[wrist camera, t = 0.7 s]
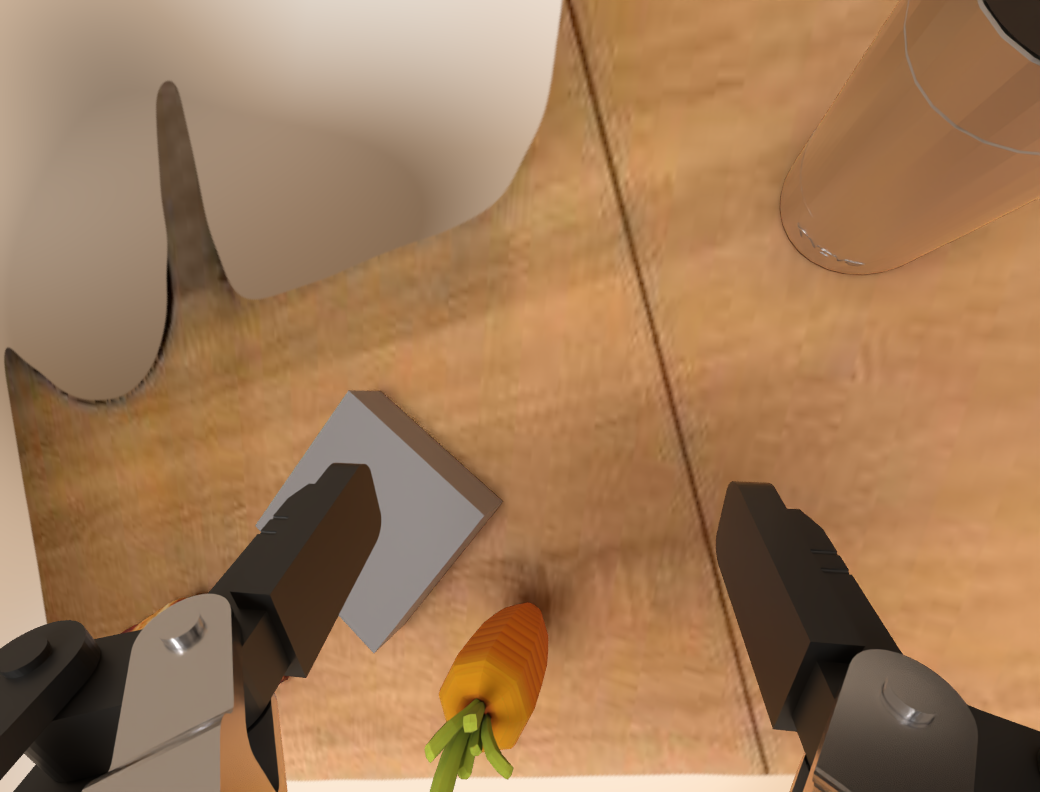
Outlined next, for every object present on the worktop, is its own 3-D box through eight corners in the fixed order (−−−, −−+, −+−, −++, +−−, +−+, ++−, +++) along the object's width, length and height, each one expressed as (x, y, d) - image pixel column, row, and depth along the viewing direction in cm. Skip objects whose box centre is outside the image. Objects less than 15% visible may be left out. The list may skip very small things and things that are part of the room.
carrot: (536, 560, 33) (451, 691, 18) (581, 618, 32) (529, 804, 17) (486, 599, 34) (368, 752, 19) (529, 656, 33) (438, 862, 18)
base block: (380, 391, 36) (348, 390, 32) (502, 501, 33) (484, 515, 30) (294, 512, 38) (255, 525, 34) (403, 625, 36) (374, 653, 32)
